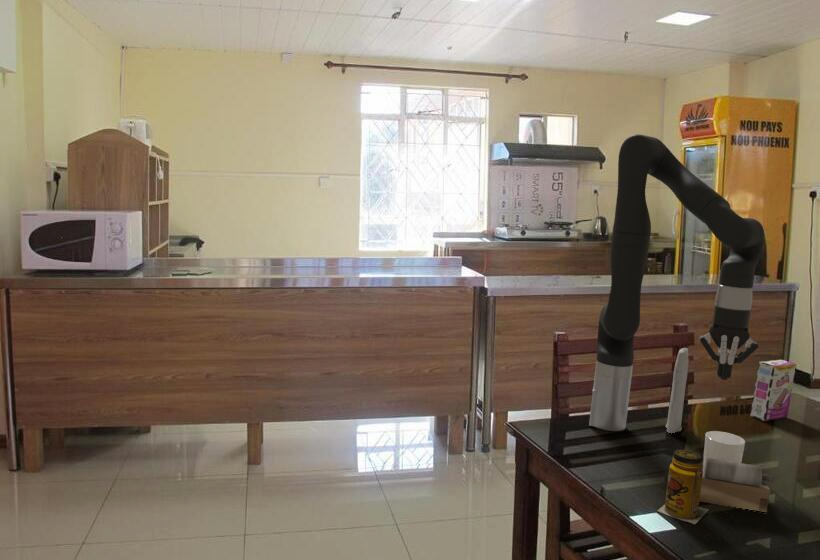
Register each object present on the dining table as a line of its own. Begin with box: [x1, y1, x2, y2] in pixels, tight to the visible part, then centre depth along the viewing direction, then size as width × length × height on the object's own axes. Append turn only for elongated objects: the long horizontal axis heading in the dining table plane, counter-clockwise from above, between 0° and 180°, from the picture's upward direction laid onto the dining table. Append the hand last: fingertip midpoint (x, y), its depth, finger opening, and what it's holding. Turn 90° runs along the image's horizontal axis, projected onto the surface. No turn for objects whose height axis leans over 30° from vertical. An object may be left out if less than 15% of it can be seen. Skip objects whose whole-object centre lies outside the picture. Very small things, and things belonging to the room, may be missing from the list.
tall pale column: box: [665, 347, 689, 435], centre depth 181 cm, size 11×4×22 cm, turn 148°
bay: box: [699, 458, 775, 513], centre depth 145 cm, size 18×14×9 cm
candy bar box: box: [749, 359, 797, 422], centre depth 198 cm, size 11×5×16 cm, turn 120°
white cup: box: [702, 430, 746, 475], centre depth 150 cm, size 8×8×10 cm
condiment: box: [656, 449, 709, 525], centre depth 134 cm, size 7×8×12 cm
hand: (723, 378), depth 159 cm, fingers closed
